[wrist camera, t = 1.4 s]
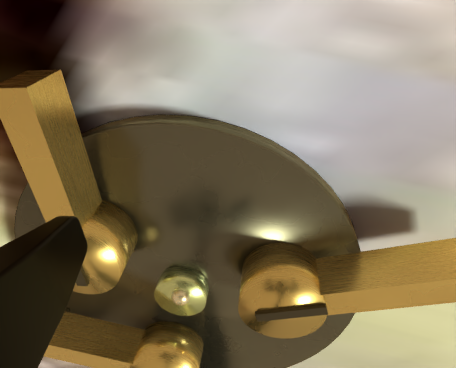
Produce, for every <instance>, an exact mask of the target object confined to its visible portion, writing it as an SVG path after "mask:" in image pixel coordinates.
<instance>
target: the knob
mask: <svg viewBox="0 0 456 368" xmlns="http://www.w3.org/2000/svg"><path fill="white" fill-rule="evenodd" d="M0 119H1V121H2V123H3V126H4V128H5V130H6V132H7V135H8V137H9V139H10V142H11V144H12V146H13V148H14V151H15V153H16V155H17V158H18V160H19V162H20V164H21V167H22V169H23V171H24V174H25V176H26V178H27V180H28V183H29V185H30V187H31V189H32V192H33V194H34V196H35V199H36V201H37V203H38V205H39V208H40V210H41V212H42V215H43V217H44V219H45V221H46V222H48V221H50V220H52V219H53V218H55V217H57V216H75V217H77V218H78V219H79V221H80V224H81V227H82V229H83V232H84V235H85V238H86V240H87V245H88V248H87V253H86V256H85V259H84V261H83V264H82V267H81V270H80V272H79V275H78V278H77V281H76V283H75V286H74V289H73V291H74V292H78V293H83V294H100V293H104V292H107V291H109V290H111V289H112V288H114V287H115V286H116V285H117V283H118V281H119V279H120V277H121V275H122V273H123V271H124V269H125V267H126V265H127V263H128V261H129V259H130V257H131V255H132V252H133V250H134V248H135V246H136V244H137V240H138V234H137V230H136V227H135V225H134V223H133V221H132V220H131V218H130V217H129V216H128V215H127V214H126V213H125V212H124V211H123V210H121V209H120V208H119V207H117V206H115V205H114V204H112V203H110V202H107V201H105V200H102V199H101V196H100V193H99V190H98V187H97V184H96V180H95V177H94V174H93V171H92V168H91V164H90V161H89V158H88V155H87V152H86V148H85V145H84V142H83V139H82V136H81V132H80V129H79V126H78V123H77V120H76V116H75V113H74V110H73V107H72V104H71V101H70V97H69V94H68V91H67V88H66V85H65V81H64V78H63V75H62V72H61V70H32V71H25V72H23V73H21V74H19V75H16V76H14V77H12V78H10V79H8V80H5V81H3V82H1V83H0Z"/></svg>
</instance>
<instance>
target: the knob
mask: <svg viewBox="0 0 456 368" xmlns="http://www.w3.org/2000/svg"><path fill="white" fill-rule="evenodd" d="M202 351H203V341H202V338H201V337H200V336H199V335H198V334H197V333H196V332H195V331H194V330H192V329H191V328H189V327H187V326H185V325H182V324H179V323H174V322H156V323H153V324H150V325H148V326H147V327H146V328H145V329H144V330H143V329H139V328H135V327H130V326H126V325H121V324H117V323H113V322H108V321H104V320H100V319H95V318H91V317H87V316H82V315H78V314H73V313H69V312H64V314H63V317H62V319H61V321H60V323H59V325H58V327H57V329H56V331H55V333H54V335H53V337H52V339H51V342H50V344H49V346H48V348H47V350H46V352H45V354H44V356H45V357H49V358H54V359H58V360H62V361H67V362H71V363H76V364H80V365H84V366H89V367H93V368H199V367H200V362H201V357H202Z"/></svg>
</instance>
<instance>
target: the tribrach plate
mask: <svg viewBox="0 0 456 368" xmlns="http://www.w3.org/2000/svg"><path fill="white" fill-rule="evenodd" d="M81 136H82V139H83V142H84V145H85V148H86V152H87V155H88V158H89V161H90V164H91V168H92V171H93V174H94V177H95V180H96V184H97V187H98V190H99V193H100V196H101V199H102V200H105V201H107V202H110V203H112V204H114V205H115V206H117V207H119V208H120V209H121V210H123V211H124V212H125V213H126V214H127V215H128V216H129V217H130V218H131V220H132V221H133V223H134V225H135V227H136V230H137V234H138V240H137V244H136V246H135V248H134V250H133V252H132V255H131V257H130V259H129V261H128V263H127V265H126V267H125V269H124V271H123V273H122V275H121V277H120V279H119V281H118V283H117V285H116V286H115V287H114V288H112V289H111V290H109V291H107V292H104V293H100V294H83V293H78V292H74V291H73V292H72V294H71V297H70V300H69V302H68V305H67V307H66V310H65V312H69V313H73V314H78V315H82V316H87V317H91V318H95V319H100V320H104V321H108V322H113V323H117V324H121V325H126V326H130V327H135V328H139V329H143V330H144V329H145V328H146V327H147V326H148V325H150V324H153V323H156V322H174V323H179V324H182V325H185V326H187V327H189V328H191V329H192V330H194V331H195V332H196V333H197V334H198V335H199V336H200V337H201V338H202V341H203V351H202V357H201V362H200V367H199V368H287V367H290V366H292V365H295V364H297V363H300V362H302V361H304V360H306V359H308V358H310V357H312V356H313V355H315V354H317V353H318V352H320V351H321V350H323V349H324V348H325V347H327V346H328V345H329V344H330V343H332V342H333V341H334V340H335V339H336V338H337V337H338V336H339V335H340V334H341V333H342V332H343V330H344V329H345V328H346V327H347V325H348V324H349V323H350V321H351V319H352V317H353V316H354V314H355V313H345V314H336V315H327V318H326V320H325V322H324V323H323V325H322V326H321V327H320V328H319V329H317V330H316V331H314V332H313V333H311V334H308V335H305V336H302V337H298V338H288V339H285V338H274V337H269V336H265V335H263V334H260V333H258V332H256V331H254V330H252V329H251V328H250V327H248V326H247V325H246V324H245V323H244V322H243V321H242V319H241V317H240V315H239V311H238V304H239V295H240V285H241V276H242V267H243V263H244V261H245V259H246V257H247V256H248V255H249V254H250V253H251V252H252V251H254V250H255V249H257V248H259V247H261V246H264V245H267V244H272V243H288V244H294V245H297V246H300V247H302V248H304V249H306V250H308V251H309V252H311V253H312V254H313V255H314V256H315V257H316V258H322V257H329V256H336V255H343V254H350V253H356V252H361V251H360V248H359V244H358V241H357V237H356V234H355V230H354V226H353V223H352V221H351V219H350V217H349V215H348V213H347V211H346V209H345V207H344V205H343V204H342V202H341V201H340V199H339V198H338V196H337V195H336V194H335V192H334V191H333V189H332V188H331V187H330V186H329V185H328V184H327V182H326V181H325V180H324V179H323V178H322V177H321V176H320V175H319V174H318V173H317V172H316V171H315V170H314V169H313V168H311V167H310V166H309V165H308V164H306V163H305V162H304V161H303V160H301V159H300V158H299V157H298V156H296V155H295V154H293V153H292V152H290V151H289V150H287V149H285V148H284V147H282V146H280V145H279V144H277V143H275V142H274V141H272V140H270V139H267V138H265V137H263V136H261V135H258V134H256V133H254V132H252V131H249V130H247V129H244V128H241V127H238V126H234V125H231V124H228V123H225V122H221V121H218V120H212V119H206V118H200V117H195V116H186V115H166V114H160V115H148V116H135V117H131V118H126V119H122V120H117V121H112V122H109V123H107V124H104V125H101V126H99V127H96V128H93V129H91V130H88V131H87V132H85V133H83V134H81ZM44 223H46V221H45V219H44V217H43V215H42V212H41V210H40V208H39V205H38V203H37V201H36V199H35V196H34V194H33V192H32V189H31V187H30V185H29V183H27V185H26V187H25V189H24V191H23V193H22V195H21V197H20V200H19V204H18V207H17V211H16V217H15V238H18V237H20V236H22V235H24V234H26V233H27V232H29V231H31V230H33V229H35V228H37V227H39V226H40V225H42V224H44Z"/></svg>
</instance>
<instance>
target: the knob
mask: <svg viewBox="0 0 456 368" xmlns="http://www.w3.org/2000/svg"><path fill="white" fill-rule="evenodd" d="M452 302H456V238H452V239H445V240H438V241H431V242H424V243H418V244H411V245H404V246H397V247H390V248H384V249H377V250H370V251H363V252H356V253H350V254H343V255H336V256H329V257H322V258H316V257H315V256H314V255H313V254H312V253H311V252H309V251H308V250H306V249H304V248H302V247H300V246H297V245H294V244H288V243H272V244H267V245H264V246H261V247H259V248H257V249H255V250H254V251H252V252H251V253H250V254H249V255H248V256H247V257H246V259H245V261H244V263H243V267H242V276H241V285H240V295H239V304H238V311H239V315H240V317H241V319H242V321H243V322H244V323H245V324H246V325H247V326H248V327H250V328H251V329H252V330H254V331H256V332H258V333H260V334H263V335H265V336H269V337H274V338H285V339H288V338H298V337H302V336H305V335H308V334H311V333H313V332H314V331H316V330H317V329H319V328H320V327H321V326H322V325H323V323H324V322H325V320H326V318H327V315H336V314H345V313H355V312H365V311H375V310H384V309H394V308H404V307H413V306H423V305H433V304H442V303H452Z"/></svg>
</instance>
